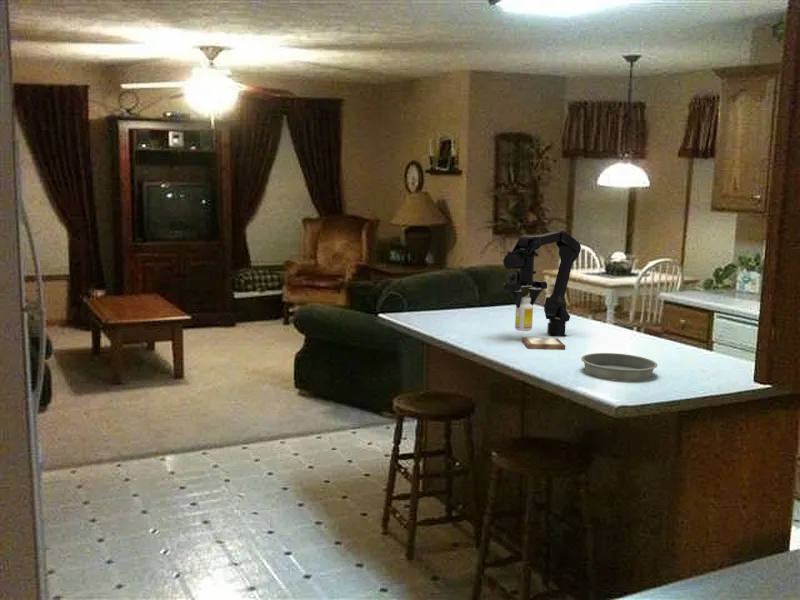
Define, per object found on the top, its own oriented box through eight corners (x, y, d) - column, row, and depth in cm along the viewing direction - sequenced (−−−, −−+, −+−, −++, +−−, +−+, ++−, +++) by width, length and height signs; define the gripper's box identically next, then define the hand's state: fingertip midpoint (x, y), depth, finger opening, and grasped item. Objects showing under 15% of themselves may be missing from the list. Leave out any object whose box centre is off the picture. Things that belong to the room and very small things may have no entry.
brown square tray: (557, 342, 325) (557, 337, 325) (565, 349, 311) (565, 345, 311) (521, 341, 325) (522, 336, 324) (528, 348, 311) (528, 344, 311)
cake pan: (611, 385, 260) (612, 371, 259) (565, 368, 282) (566, 355, 281) (672, 379, 270) (673, 366, 269) (624, 363, 292) (625, 351, 291)
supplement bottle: (533, 329, 330) (535, 297, 328) (529, 332, 324) (530, 299, 322) (517, 327, 333) (519, 296, 331) (512, 330, 327) (514, 298, 325)
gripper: (529, 265, 336) (527, 302, 339) (494, 266, 326) (493, 305, 328) (549, 267, 327) (547, 306, 330) (514, 269, 317) (512, 310, 319)
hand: (524, 307), depth 327 cm, fingers closed on supplement bottle, 7 cm apart
